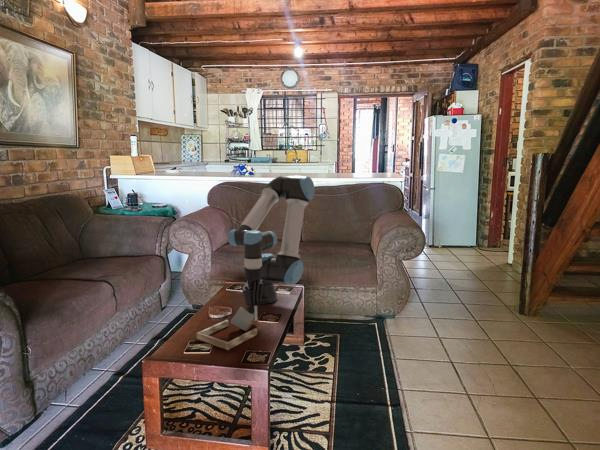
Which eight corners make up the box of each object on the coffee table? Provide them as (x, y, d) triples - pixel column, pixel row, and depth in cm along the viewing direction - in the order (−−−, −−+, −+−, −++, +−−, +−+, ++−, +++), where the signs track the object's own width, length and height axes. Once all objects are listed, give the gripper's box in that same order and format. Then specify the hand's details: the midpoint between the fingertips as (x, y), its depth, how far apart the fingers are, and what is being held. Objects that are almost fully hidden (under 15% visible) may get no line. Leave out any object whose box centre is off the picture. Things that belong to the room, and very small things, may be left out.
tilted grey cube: (245, 335, 172) (252, 325, 167) (228, 325, 172) (234, 314, 167) (254, 318, 181) (261, 308, 176) (238, 308, 180) (244, 298, 176)
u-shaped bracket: (226, 325, 179) (226, 319, 178) (257, 334, 169) (257, 328, 169) (196, 339, 165) (196, 333, 164) (227, 350, 155) (227, 343, 155)
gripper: (256, 262, 184) (256, 313, 187) (236, 269, 173) (237, 322, 177) (269, 265, 180) (269, 317, 183) (249, 271, 169) (250, 326, 173)
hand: (253, 319), depth 180 cm, fingers closed
